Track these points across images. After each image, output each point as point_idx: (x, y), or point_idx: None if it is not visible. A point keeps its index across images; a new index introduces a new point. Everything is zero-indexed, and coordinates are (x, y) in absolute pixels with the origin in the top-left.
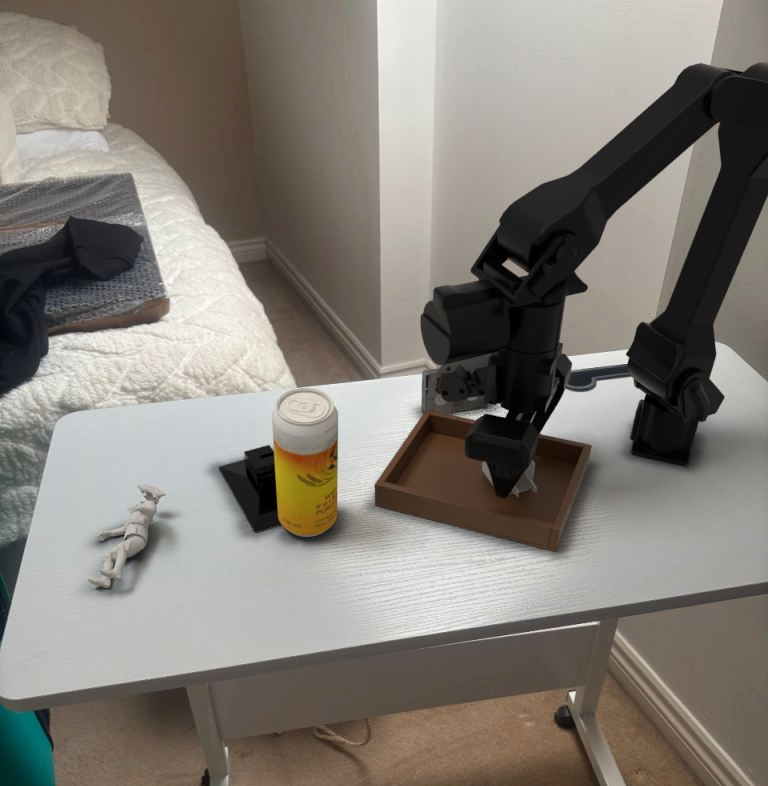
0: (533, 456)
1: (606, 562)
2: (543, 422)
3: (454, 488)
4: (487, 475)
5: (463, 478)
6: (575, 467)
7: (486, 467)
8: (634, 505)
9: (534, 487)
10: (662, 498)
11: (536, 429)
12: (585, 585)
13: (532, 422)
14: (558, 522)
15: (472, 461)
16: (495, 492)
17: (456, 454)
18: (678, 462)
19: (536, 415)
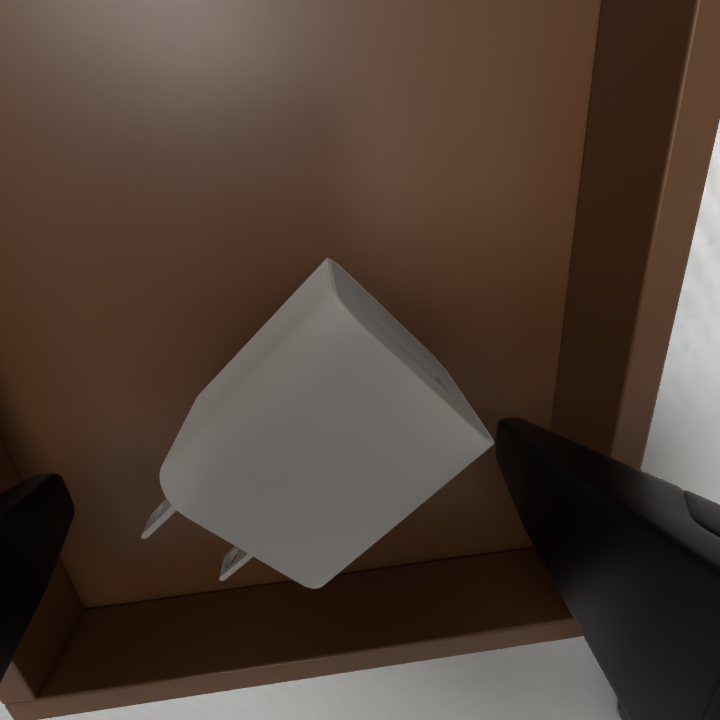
0: None
1: (131, 707)
2: (608, 663)
3: (136, 169)
4: (278, 311)
5: (245, 179)
6: (519, 538)
7: (289, 308)
8: (406, 682)
9: (226, 568)
10: (463, 712)
11: (569, 580)
12: (3, 704)
13: (607, 593)
14: (54, 709)
15: (408, 163)
16: (12, 487)
17: (437, 38)
18: (623, 709)
19: (654, 671)
